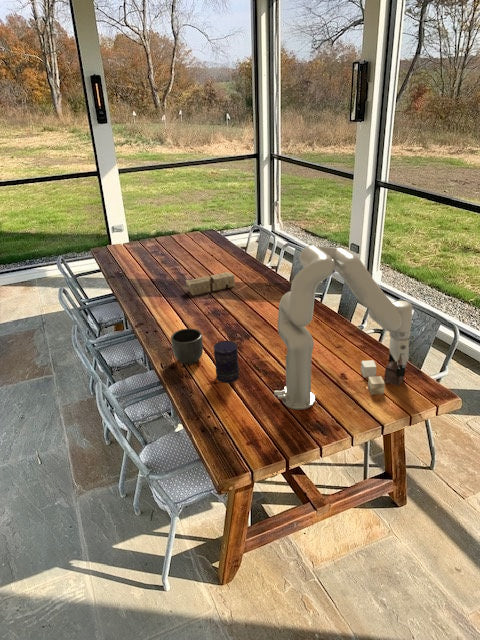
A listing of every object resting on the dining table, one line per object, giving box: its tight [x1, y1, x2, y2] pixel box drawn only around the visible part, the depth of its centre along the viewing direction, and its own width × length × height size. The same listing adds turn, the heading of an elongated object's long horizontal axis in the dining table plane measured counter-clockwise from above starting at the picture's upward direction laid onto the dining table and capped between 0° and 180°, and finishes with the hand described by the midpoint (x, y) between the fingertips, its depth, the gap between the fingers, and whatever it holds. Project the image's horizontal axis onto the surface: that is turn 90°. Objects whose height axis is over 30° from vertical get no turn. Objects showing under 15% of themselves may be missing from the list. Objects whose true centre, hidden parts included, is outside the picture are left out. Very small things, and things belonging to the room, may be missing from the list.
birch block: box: [367, 375, 386, 395], centre depth 182 cm, size 5×5×5 cm
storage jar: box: [213, 340, 240, 384], centre depth 195 cm, size 10×10×15 cm
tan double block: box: [185, 271, 236, 296], centre depth 285 cm, size 8×8×29 cm
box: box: [383, 361, 405, 387], centre depth 187 cm, size 6×6×7 cm
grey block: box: [360, 359, 377, 378], centre depth 193 cm, size 5×5×5 cm
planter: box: [170, 328, 204, 366], centre depth 209 cm, size 14×14×13 cm
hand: (396, 369), depth 186 cm, fingers open, 9 cm apart
